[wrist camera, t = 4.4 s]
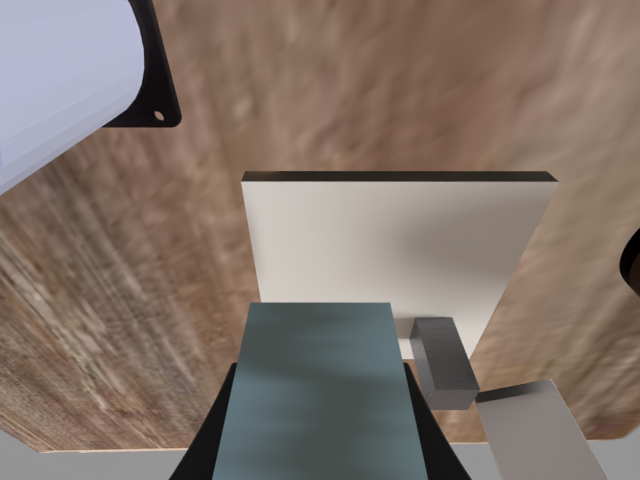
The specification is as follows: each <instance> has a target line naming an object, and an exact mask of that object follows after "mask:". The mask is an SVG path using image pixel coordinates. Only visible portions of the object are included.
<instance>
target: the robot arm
mask: <svg viewBox="0 0 640 480" xmlns="http://www.w3.org/2000/svg"><path fill="white" fill-rule="evenodd" d="M155 111H156V112H159V113H161V114H162V116H163V120H159V119H158V118H157V117H156V115H155ZM181 120H182V114H181V110H180V106H179V102H178V98H177V94H176V90H175V86H174V83H173V79H172V75H171V71H170V67H169V63H168V59H167V55H166V52H165V48H164V44H163V40H162V36H161V32H160V28H159V24H158V20H157V17H156V13H155V9H154V5H153V1H152V0H0V195H2V194H3V193H5V192H6V191H8V190H9V189H11V188H12V187H14V186H15V185H17V184H18V183H19V182H21V181H22V180H24V179H25V178H27V177H28V176H30V175H31V174H33V173H34V172H36V171H37V170H39V169H40V168H42V167H43V166H44V165H46V164H47V163H49V162H50V161H52V160H53V159H55V158H56V157H58V156H59V155H61V154H62V153H64V152H65V151H67V150H68V149H70V148H71V147H72V146H74V145H75V144H77V143H78V142H80V141H81V140H83V139H84V138H86V137H87V136H89V135H90V134H92V133H93V132H95V131H96V130H97V129H99V128H173V127H176V126H177V125H179V124H180V123H181ZM403 365H404V370H405V374H406V379H407V384H408V388H409V393H410V398H411V402H412V407H413V412H414V416H415V421H416V426H417V430H418V435H419V440H420V444H421V449H422V454H423V458H424V463H425V468H426V472H427V477H428V480H472V479H471V477H470V476H469V474H468V473H467V471H466V470H465V468H464V467H463V465H462V464H461V462H460V460H459V459H458V457H457V456H456V454H455V452H454V451H453V449H452V447H451V446H450V444H449V442H448V441H447V439H446V437H445V436H444V434H443V432H442V430H441V429H440V427H439V425H438V423H437V421H436V419H435V418H434V416H433V414H432V412H431V410H430V408H429V406H428V404H427V403H426V400H425V398H424V396H423V394H422V392H421V390H420V388H419V386H418V384H417V382H416V380H415V377H414V375H413V373H412V370H411V368H410V365H409V364H408V363H403ZM236 367H237V363H232V364H231V366H230V369H229V371H228V373H227V376H226V378H225V380H224V383H223V385H222V387H221V389H220V391H219V393H218V395H217V397H216V399H215V401H214V403H213V405H212V407H211V409H210V411H209V413H208V414H207V416H206V418H205V420H204V422H203V424H202V426H201V427H200V429H199V431H198V433H197V434H196V436H195V438H194V439H193V441H192V443H191V445H190V446H189V448H188V450H187V451H186V453H185V455H184V456H183V458H182V459H181V461H180V463H179V464H178V466H177V467H176V469H175V470H174V472H173V474H172V475H171V477H170V478H169V480H212V478H213V474H214V469H215V464H216V460H217V455H218V451H219V446H220V441H221V437H222V432H223V427H224V423H225V418H226V413H227V409H228V404H229V399H230V395H231V390H232V385H233V381H234V376H235V371H236Z"/></svg>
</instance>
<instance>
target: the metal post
mask: <svg viewBox="0 0 640 480" xmlns="http://www.w3.org/2000/svg"><path fill="white" fill-rule="evenodd" d="M409 341H410V345H411V349H412V353H413V357H414V361H415V365H416V369H417V373H418V377H419V381H420V385H421V389H422V394H423V396H424V398H425V400H426V403H427V404H428V406H429V408H430V410H468V409H469V407H470V406H471V404H472V403H473V401H474V399H475V398H476V396H477V394H478V393H479V391H480V387H479V385H478V382H477V380H476V377H475V375H474V372H473V369H472V367H471V364H470V362H469V359H468V357H467V354H466V351H465V349H464V346H463V344H462V341H461V338H460V336H459V333H458V331H457V328H456V326H455V323H454V320H453V318H452V317H415V321H414V324H413V328H412V331H411V335H410V338H409Z"/></svg>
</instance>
